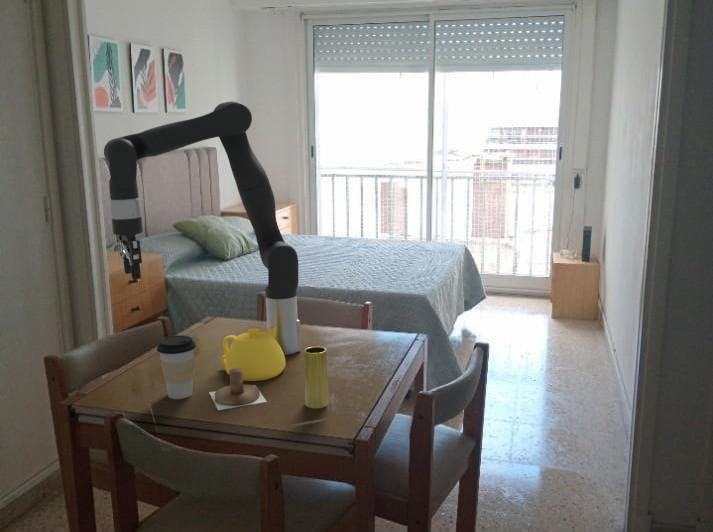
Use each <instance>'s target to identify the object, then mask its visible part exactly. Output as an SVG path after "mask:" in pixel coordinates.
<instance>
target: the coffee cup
mask: <svg viewBox="0 0 713 532" xmlns="http://www.w3.org/2000/svg"><path fill="white" fill-rule="evenodd" d="M196 346H197V345H196V342H195V341H194V340H193V337H191V336H189V335H170V336H167V337H164V338H161V339H160V340H159V344H157V346H156V347H157V348H156V351H157V352H158V353H159V355H160V356H159V357H160V364H161V365H160V366H161V369H162V370H161V371H162V375H163V380H164V383H165V386H166V387H165V388H166V392H167V393H166V394H167V397H168V398H169V399H172V400H182V399H186V398H189V397H191V396H192V395H193V389H194V388H193V384H194V377H195V372H194V371H195V348H196Z"/></svg>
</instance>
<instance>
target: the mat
mask: <svg viewBox="0 0 713 532" xmlns="http://www.w3.org/2000/svg"><path fill="white" fill-rule="evenodd" d="M253 386H255V387H257V386H256V384H253ZM216 391H217V390H216ZM216 391H209V392H208V394H209V395H210V397H211V399H212V401H213V403H214V405H215V407H216V409H217V411H222V410H228V409H234V408H238V407H239V408H240V407H244V406H250V405H257V404H262V403H268V401H267V400H266V398H265V397H264V396H263V394H262V392H261V391H260V390H259V394H260V396H259V398H258V399H257V400H256V401H254V402H252V403H249V404H245V405H239V406H227V405H222V404H219V403H217V402H216V401H215V393H216Z"/></svg>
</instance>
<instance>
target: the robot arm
mask: <svg viewBox="0 0 713 532" xmlns="http://www.w3.org/2000/svg"><path fill="white" fill-rule="evenodd" d="M252 121H253V115H252V112H251V110H250V109H249V108H248V106H246V105H245V104H244V103H242V102H239V101H236V100H235V101H234V100H231V101H225V102H221V103H219V104H218V105H217V106H215V108H214V110H213V111H211V112H209V113H206V114H204V115H201V116H197V117H193V118H189V119H185V120H179V121H175V122H169V123H166V124H162V125H160V126H155V127H153V128H148V129H146V130H144V131H141V132H138V133H133V134H129V135H128V134H127V135H124V136H120V137H115V138H112V139H111V140H109V141H108V142H106V144H105V145H104V148H103V156H104V158H105V159H106V161H107V162H108V165H109V175H110V177H109V181H108V187H109V188H108V189H109V199H110V216H111V227H112V234H113V235H114V236H117V237H118V246H119V255H120V257H121V259H122V261H123V270H124V273H125V275H126V274H130V275H131V279H132V280H138V279H142V276H141V264H142V262H143V260H142V259H143V258H142V250H141V241H140V240H137V239H136V238H137V237H136V235H139V234H140V235H141V234H142V233H143V231H144V228H143V227H144V226H143V218H142V216H143V215H142V209H141V207H142V206H141V202H140V197H139V187H138V186H139V185H138V180H137V176H138V175H137V174H138V160H142V159H144V158H150V157H151V158H153V157H157V156H160V155H164V154H167V153H170V152H173V151H177V150H179V149H183V148H184V147H187V146H190V145H194V144H196V143H199V142H202V141H206V140H209V139H215V138H219V140H220V142H221V144H222V147H223V149H224V151H225V153H226V156H227V159H228V162H229V166H230V169H231V172H232V175H233V179H234V182H235V184H236V188H237V191H238V194H239V197H240V199H241V202H242V205H243V207H244V210H245V212H246V215H247V217H248V220H249V222H250V225H251V227H252V229H253V232H254V235H255V239H256V242H257V247H258V251H259V256H260V260H261V262H262V264H263V266H264V267H265V269H267V272H268V273H267V274H268V277H267V278H268V281H267V282H268V283H267V285H266V287H265V291H264V292H265V309H266V328H267V329H266V332H267V331H268V328H270V327H276V341H277V342H278V344H279V345H280V347H281V349H282V351H283V353H284V356H288V355H292V354H295V353H297V352H302V349H301V347H302V344H301V343H302V342H301V321H300V320H299V318H298V297H297V296H298V294H297V293H298V292H297V290H298V287H299V258H298V252H297V251H296V249H295V248H294V247H293V246H291V245H289V244H288V243H286V242H285V240H284V237H283V235H282V233H281V231H280V227H279V226H278V221H277V215H276V214H277V213H276V200H275V196H274V191H273V189H272V185H271V182H270V179H269V178H268V177H269V176H268V175H267V173H266V171H265V168H264V167H263V166H262V164H261V162H260V161H259V159H258V158H257V156H256V154H255V153H254V151H253V149H252V148H251V145H250V142H249V139H248V134H247V131H248V130H249V129H250V127H251V126H252ZM134 258H135V259H134Z"/></svg>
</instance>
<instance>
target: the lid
mask: <svg viewBox="0 0 713 532" xmlns="http://www.w3.org/2000/svg"><path fill="white" fill-rule="evenodd" d="M229 373H230V375H229V385H226V386H222V387H221V388H219V389H217V390H216V393H215V401H216V402H217V403H219V404H222V405H227V406H239V405H245V404H249V403H252V402H254V401H256V400H257V399H258V398H259V396H260V394H259V391H260V388H259V387H257V386H256V385H255V386H256V387H255V386H253V385H254V384H253V385H252V384H247V383H246V384H245V383H244V381H243V372H242V369H240V368H235V369H231V370H230V371H229Z"/></svg>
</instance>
